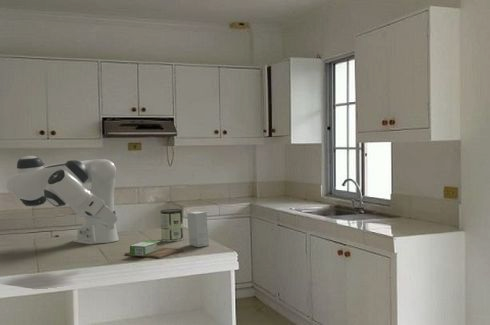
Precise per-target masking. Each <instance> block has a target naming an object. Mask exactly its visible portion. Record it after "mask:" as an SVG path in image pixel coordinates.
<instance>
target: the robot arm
mask: <svg viewBox="0 0 490 325" xmlns="http://www.w3.org/2000/svg"><path fill="white" fill-rule="evenodd" d="M16 169H17V173H15V174H13V175H12V176H10V177H9V178H8V180H7V182H6V189H7V191H8V193H9V194H10V195H12V196H13V197H15V198H17V199H20V202H21V203H22V204H23V205H25V206H26V207H32V208H36V207H39V206H42V205H43V204H45V203H46V202H49V203H50V204H51V205H53V206H54V207H57V208H58V207H62V206H66V205H68V206H70V208H71V209H72V210H73V211H74V212H75V213H76V214H77V215H79V216H80V217H81V218H84V219H85V220H86V221H85V222H84V223H83V224H82V225H80V226H79V227H78V229H77V235H76V237H75V238H73V239H72V240H71V241H72V242H73V243H79V244H84V245H85V244H86V245H95V244H105V243H108V244H109V243H112V242H113V243H114V242H118V241H119V240H120V239H119V234H118V230H117V225H116V222H117V220H118V216H117V214H116V210H115V185H116V175H117V172H118V171H117V167H116V165H115V163H113V161H111V160H110V159H106V158H104V159H103V158H95V159H87V160H86V159H85V160H75V159H73V160H67V161H66V162H63V163H61V162H60V163H55V164H48V165H46V164H45V162H43V160H42V159H41V157H39V156H35V155H26V156H23V157H22V158H19V159H18V160H17V163H16ZM86 184H87V185H88V184H91V185H90V190H89V189H88V188H86V187H85V186H84V185H86Z"/></svg>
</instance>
